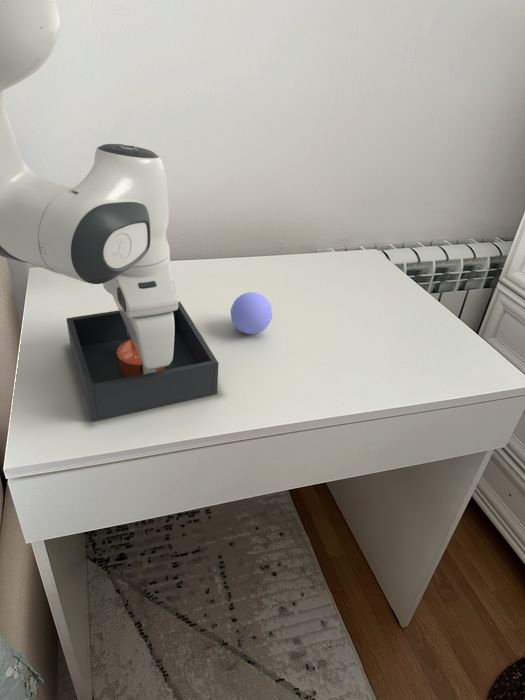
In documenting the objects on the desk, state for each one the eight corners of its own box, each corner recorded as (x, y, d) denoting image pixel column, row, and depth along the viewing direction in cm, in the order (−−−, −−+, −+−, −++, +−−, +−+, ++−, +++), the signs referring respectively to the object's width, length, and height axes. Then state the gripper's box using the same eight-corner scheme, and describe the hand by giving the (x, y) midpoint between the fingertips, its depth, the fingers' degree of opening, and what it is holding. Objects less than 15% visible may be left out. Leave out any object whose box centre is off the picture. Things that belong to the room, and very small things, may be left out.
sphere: (253, 347, 87) (256, 310, 83) (221, 330, 91) (222, 294, 87) (278, 330, 92) (282, 295, 88) (247, 315, 95) (249, 280, 91)
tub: (92, 422, 70) (87, 389, 67) (70, 348, 83) (66, 318, 80) (217, 393, 77) (218, 362, 74) (180, 330, 90) (179, 301, 86)
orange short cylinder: (124, 385, 76) (122, 368, 74) (114, 358, 81) (112, 342, 79) (170, 375, 78) (170, 359, 77) (158, 350, 83) (157, 334, 82)
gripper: (97, 242, 77) (105, 323, 85) (130, 313, 62) (136, 403, 70) (140, 238, 79) (144, 317, 87) (182, 305, 64) (183, 393, 72)
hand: (141, 356), depth 78 cm, fingers closed on orange short cylinder, 7 cm apart
